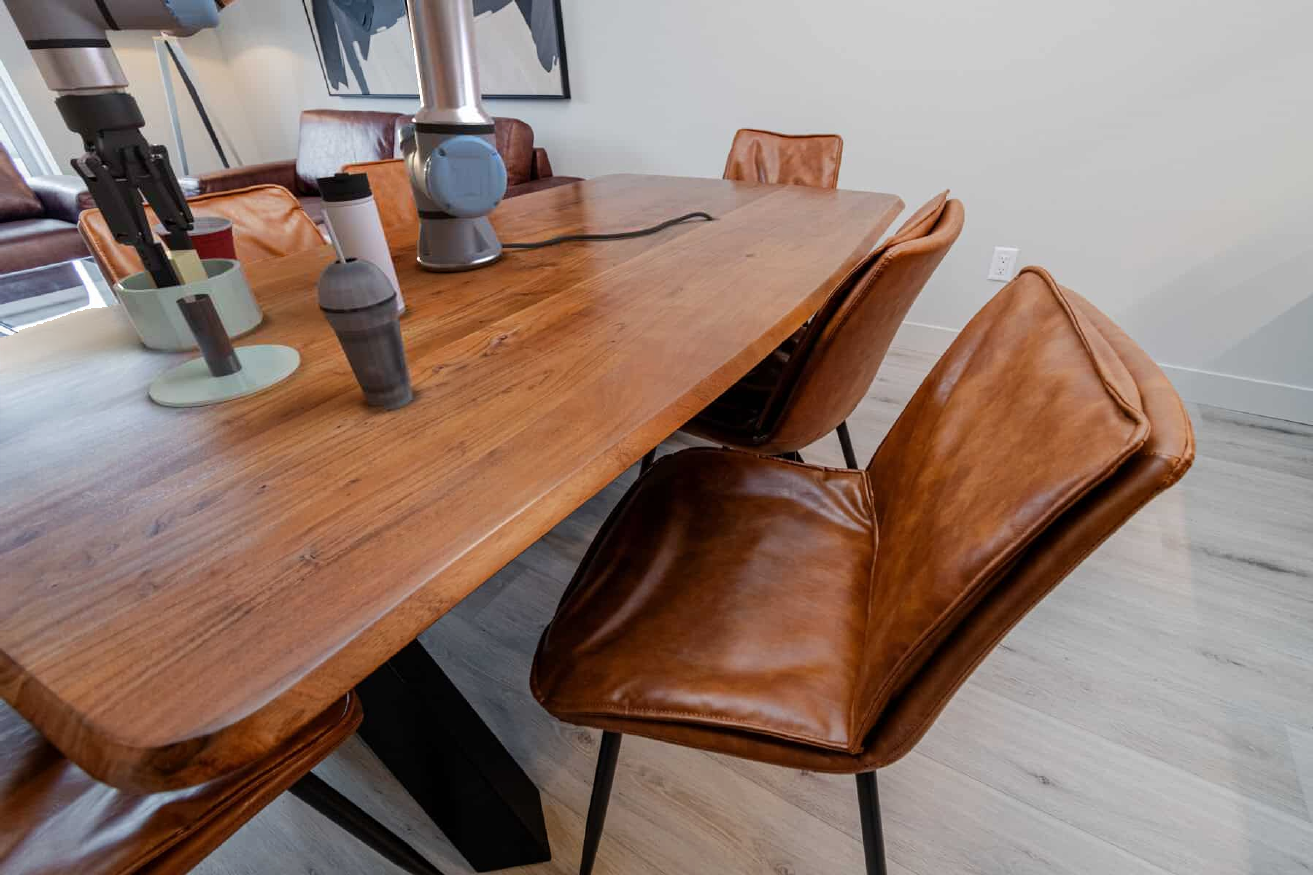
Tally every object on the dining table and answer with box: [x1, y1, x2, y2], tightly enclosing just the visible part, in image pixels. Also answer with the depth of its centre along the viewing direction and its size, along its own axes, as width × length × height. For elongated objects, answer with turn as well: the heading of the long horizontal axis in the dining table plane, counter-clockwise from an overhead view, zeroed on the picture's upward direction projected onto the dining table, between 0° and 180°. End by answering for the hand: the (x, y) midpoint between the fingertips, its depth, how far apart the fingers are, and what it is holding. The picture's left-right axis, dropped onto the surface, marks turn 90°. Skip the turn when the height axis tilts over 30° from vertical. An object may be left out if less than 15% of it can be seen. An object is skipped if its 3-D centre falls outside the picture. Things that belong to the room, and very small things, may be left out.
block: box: [139, 250, 208, 289], centre depth 82 cm, size 5×5×5 cm
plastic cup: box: [150, 215, 238, 261], centre depth 98 cm, size 11×11×12 cm
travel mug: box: [315, 171, 406, 316], centre depth 83 cm, size 6×7×20 cm
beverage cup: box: [316, 209, 414, 411], centre depth 61 cm, size 7×7×20 cm
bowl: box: [112, 258, 264, 351], centre depth 84 cm, size 15×15×8 cm
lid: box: [148, 294, 302, 408], centre depth 70 cm, size 16×16×10 cm
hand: (184, 286), depth 83 cm, fingers closed on block, 5 cm apart
